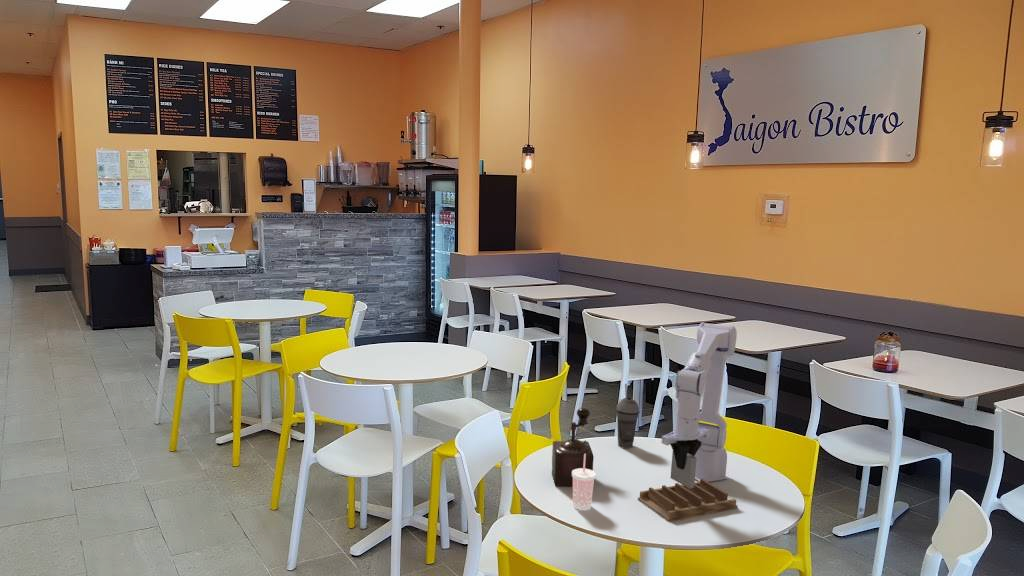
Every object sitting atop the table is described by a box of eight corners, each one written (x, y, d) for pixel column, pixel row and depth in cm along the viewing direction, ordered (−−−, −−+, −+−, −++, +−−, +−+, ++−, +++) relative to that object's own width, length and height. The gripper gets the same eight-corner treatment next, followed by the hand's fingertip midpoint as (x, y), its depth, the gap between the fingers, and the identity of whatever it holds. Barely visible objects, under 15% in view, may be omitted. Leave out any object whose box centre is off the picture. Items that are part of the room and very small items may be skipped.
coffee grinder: (595, 487, 194) (599, 424, 191) (554, 487, 193) (557, 423, 191) (586, 465, 209) (590, 406, 207) (548, 464, 209) (551, 405, 206)
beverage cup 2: (631, 451, 222) (635, 389, 219) (609, 446, 225) (613, 384, 223) (640, 445, 228) (644, 384, 225) (619, 440, 232) (623, 380, 229)
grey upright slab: (674, 477, 188) (677, 447, 187) (694, 487, 182) (696, 457, 181) (670, 478, 187) (672, 448, 186) (689, 488, 181) (692, 458, 180)
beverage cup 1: (598, 506, 183) (601, 454, 181) (584, 514, 178) (588, 460, 176) (578, 499, 187) (581, 447, 185) (565, 506, 182) (567, 453, 180)
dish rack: (704, 487, 197) (705, 475, 196) (737, 508, 185) (738, 494, 185) (637, 499, 188) (638, 486, 187) (668, 521, 176) (669, 507, 176)
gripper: (697, 408, 189) (693, 457, 191) (655, 415, 182) (651, 466, 184) (717, 416, 183) (712, 467, 185) (674, 423, 176) (670, 476, 178)
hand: (683, 467), depth 184 cm, fingers closed on grey upright slab, 2 cm apart
